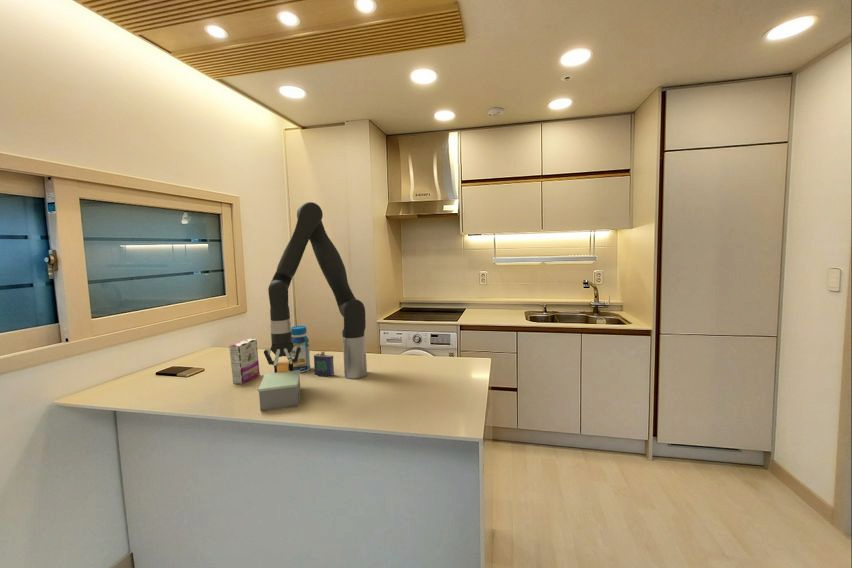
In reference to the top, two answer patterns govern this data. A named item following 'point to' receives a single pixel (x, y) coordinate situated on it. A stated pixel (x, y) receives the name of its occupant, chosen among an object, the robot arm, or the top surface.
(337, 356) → the top surface
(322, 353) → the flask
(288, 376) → the lid
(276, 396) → the tub
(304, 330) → the beverage bottle
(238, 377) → the candy bar box
